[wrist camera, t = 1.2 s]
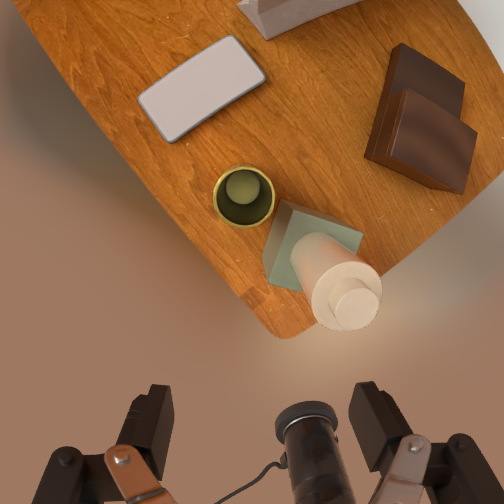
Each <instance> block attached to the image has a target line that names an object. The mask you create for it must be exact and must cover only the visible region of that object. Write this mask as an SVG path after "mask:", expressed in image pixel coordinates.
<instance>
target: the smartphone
mask: <svg viewBox="0 0 504 504" xmlns="http://www.w3.org/2000/svg"><path fill="white" fill-rule="evenodd" d="M265 80H266V76H265V74H264V73H263V71H262V70H261V69H260V67H259V66H258V65H257V64H256V62H255V61H254V60H253V59H252V57H251V56H250V55H249V53H248V52H247V51H246V50H245V49H244V47H243V46H242V45H241V44H240V42H239V41H238V40H237V39H236V38H235V37H234V36H232V35H228V36H226V37H224V38H222V39H220V40H219V41H217V42H215V43H214V44H212V45H210V46H209V47H207V48H206V49H204V50H202V51H201V52H199V53H198V54H196V55H194V56H193V57H191V58H190V59H188V60H187V61H185V62H184V63H182V64H181V65H179V66H178V67H176V68H175V69H174V70H172V71H171V72H169V73H168V74H166V75H165V76H164V77H162V78H161V79H160V80H158V81H157V82H156V83H154V84H153V85H152V86H150V87H149V88H148V89H146V90H145V91H144V92H142V93H141V94H140V95H139V97H138V102H139V104H140V105H141V106H142V108H143V109H144V111H145V112H146V114H147V115H148V116H149V118H150V119H151V121H152V122H153V123H154V125H155V126H156V128H157V129H158V131H159V132H160V133H161V135H162V136H163V138H164V139H165V140H166V141H167V142H168V143H174V142H176V141H177V140H178V139H180V138H181V137H182V136H184V135H185V134H186V133H188V132H189V131H191V130H192V129H193V128H195V127H196V126H198V125H199V124H200V123H202V122H203V121H205V120H206V119H208V118H209V117H211V116H212V115H214V114H215V113H216V112H218V111H219V110H221V109H222V108H224V107H226V106H227V105H229V104H230V103H232V102H233V101H235V100H236V99H238V98H239V97H241V96H243V95H244V94H246V93H247V92H249V91H251V90H252V89H254V88H256V87H257V86H259V85H261V84H262V83H264V82H265Z"/></svg>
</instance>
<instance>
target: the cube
mask: <svg viewBox="0 0 504 504" xmlns="http://www.w3.org/2000/svg"><path fill="white" fill-rule="evenodd" d="M312 232H325V233H328V234H330V235H332V236H334V237H335V238H336V239H337V240H339V241H340V242H341V243H342V244H344V245H345V246H346V247H347V248H349V249H350V250H351V251H352V252H354V253H355V254H357V251H358V248H359V246H360V243H361V240H362V238H363V235H364V233H363V232H361V231H359V230H357V229H356V228H354V227H352V226H351V225H349V224H347V223H345V222H344V221H342V220H340V219H338V218H336V217H334V216H331V215H328V214H325V213H322V212H319V211H316V210H313V209H311V208H308V207H305V206H302V205H298V204H295V203H292V202H289V201H286V200H283V199H280V201H279V204H278V207H277V210H276V213H275V216H274V219H273V222H272V225H271V228H270V232H269V235H268V238H267V241H266V244H265V247H264V250H263V253H262V260H263V265H264V269H265V273H266V277H267V281H268V284H271V285H275V286H279V287H282V288H286V289H290V290H293V291H297V292H301V293H303V291H302V289H301V287H300V285H299V283H298V281H297V279H296V277H295V275H294V273H293V271H292V268H291V264H290V256H291V252H292V249H293V247H294V245H295V244H296V243H297V241H298V240H299V239H301V238H302V237H303V236H305V235H307V234H309V233H312Z"/></svg>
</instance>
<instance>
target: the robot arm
mask: <svg viewBox="0 0 504 504" xmlns="http://www.w3.org/2000/svg"><path fill="white" fill-rule="evenodd" d="M349 420H350V422H351V425H352V427H353V430H354V432H355V435H356V437H357V440H358V442H359V445H360V447H361V450H362V453H363V455H364V458H365V460H366V463H367V465H368V468H369V471H370V472H375V471H380V474H381V476H382V477H381V478H380V480H379V483H378V485H377V487H376V489H375V491H374V493H373V495H372V497H371V499H370V501H369V503H368V504H419V502H420V499H421V496H422V493H423V490H424V487H425V489H426V491H427V494H428V496H429V499H430V501H431V504H504V490H503V488H502V487H501V485H500V483H499V481H498V480H497V478H496V476H495V474H494V473H493V471H492V469H491V468H490V466H489V464H488V463H487V461H486V459H485V458H484V456H483V454H482V453H481V451H480V450H479V448H478V446H477V445H476V443H475V442H474V440H473V439H472V438H471V437H470V436H468V435H466V434H461V433H458V434H454V435H452V436H451V437H450V438H449V440H448V442H447V443H430V442H429V440H428V439H427V438H425V437H424V436H421V435H417V434H414V433H413V432H412V430H411V428H410V427H409V425H408V423H407V421H406V420H405V418H404V416H403V415H402V413H401V412H400V409H399V408H398V406H396V403H395V401H394V399H393V398H392V397H391V396H390V395H389V394H388V393H386V392H385V391H384V390H383V391H379V390H378V388H377V386H376V384H375V383H374V382H373V381H370V382H362V383H357V384H356V385H355V388H354V392H353V396H352V399H351V402H350V405H349ZM173 424H174V408H173V402H172V395H171V389H170V386H166V385H156V384H152V385H151V388H150V390H149V393H148V395H142V394H140V395H139V396H138V397H137V398H136V399H135V400H133V402H132V404H131V406H130V409H129V412H128V414H127V417H126V419H125V422H124V424H123V427H122V429H121V432H120V434H119V437H118V440H117V442H116V445H115V446H112V447H111V448H109V449H108V450H107V451H106V453H104V454H99V455H82V453H81V452H80V451H79V450H78V449H76V448H73V447H68V446H65V447H61V448H58V449H57V450H55V451H54V452H53V453H52V455H51V457H50V460H49V462H48V465H47V467H46V469H45V471H44V474H43V476H42V479H41V481H40V484H39V486H38V489H37V491H36V494H35V496H34V499H33V501H32V504H104V502H108V501H126V503H127V504H177V502H176V501H175V500H174V498H173V497H172V496H171V494H170V493H169V492H168V491H167V490H166V489H165V488H163V487H162V486H161V485H160V483H159V482H158V481H162V476H163V472H164V467H165V462H166V457H167V452H168V447H169V442H170V438H171V433H172V429H173ZM283 438H284V445H285V452H284V453H283V455H282V456H281V458H280V462H281V464H280V463H278V462H272V463H270V464H269V465H267V466H266V468H265V469H264V470H263V471H262V473H261V474H260V475H259V476H258V477H257V478H256V479H254V480H253V481H252V482H250V483H248V484H247V485H245V486H243V487H241V488H239V489H238V490H236V491H234V492H233V493H231V494H229V495H227V496H226V497H224V498H222V499H221V500H219V501H218V502H216V503H215V504H220V503H222V502H224V501H225V500H227V499H229V498H231V497H232V496H234V495H236V494H237V493H239V492H241V491H243V490H245V489H247V488H248V487H250V486H252V485H253V484H255V483H257V482H258V481H259V480H260V479H261V478H262V477H263V476H264V475H265V474H266V472H267V471H268V470H269V469H270V468H271V467H273V466H277V467H278V468H279V469H286V468H288V470H289V476H290V479H291V486H292V492H293V497H294V504H356V499H355V496H354V493H353V490H352V487H351V483H350V480H349V477H348V474H347V471H346V468H345V465H344V462H343V459H342V456H341V452H340V450H339V446H338V438H337V436H336V438H335V434H334V431H333V428H332V423H331V421H330V419H329V418H328V417H326V416H324V415H321V414H306V415H302V416H299V417H297V418H295V419H293V420H291V421H290V422H289V423H288V424H287V425H286V426H285V427H284V429H283Z"/></svg>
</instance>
